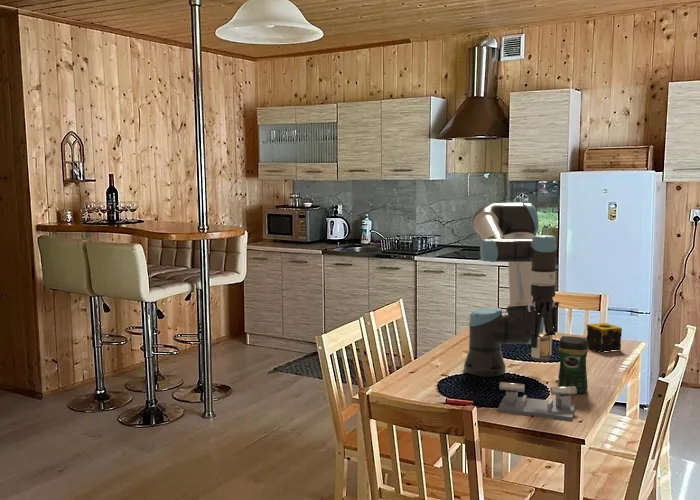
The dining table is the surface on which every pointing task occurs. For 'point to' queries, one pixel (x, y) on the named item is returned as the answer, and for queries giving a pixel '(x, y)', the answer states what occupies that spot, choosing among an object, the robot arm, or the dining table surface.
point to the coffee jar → (573, 363)
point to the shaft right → (563, 396)
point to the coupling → (543, 348)
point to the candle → (604, 337)
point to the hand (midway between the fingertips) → (541, 355)
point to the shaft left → (511, 391)
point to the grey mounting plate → (537, 408)
